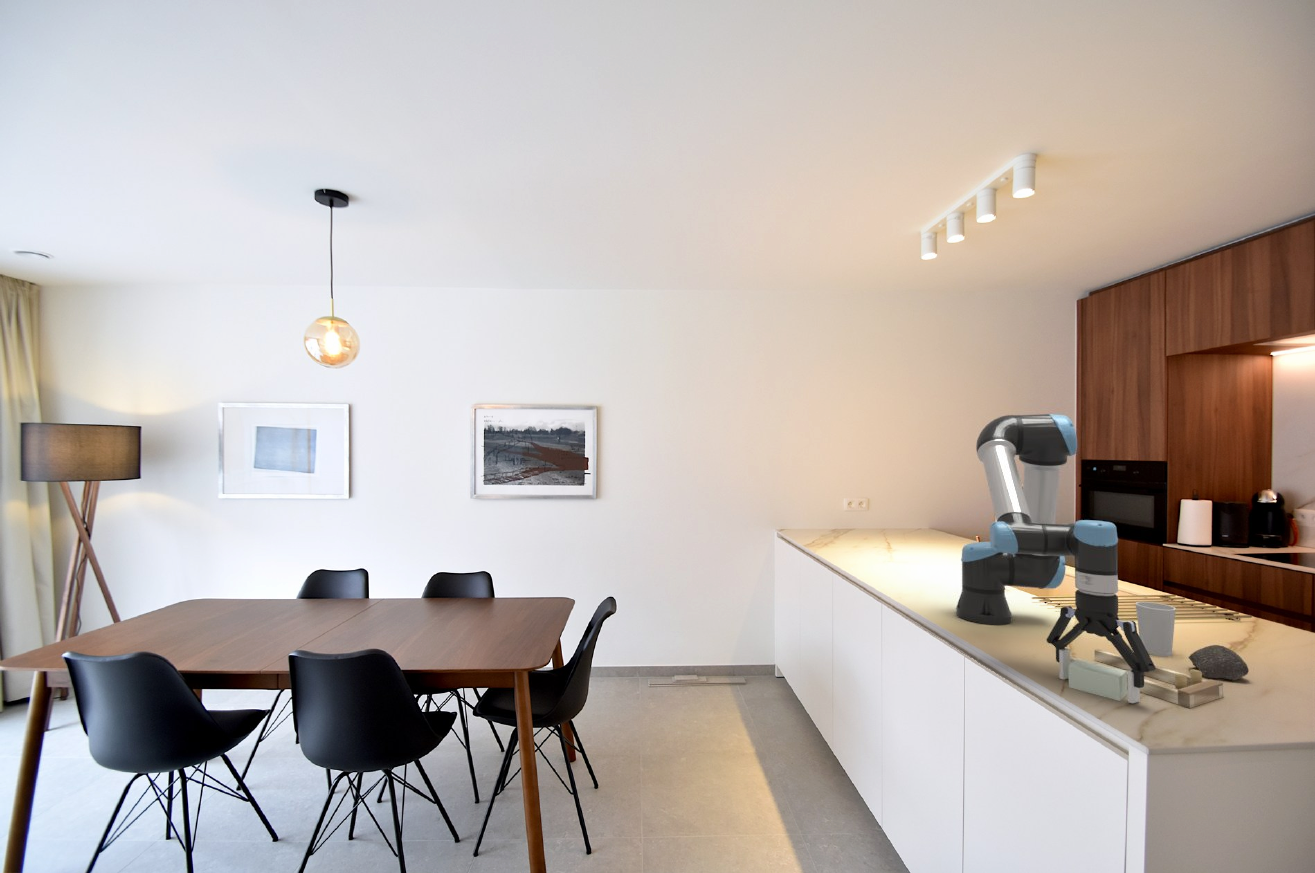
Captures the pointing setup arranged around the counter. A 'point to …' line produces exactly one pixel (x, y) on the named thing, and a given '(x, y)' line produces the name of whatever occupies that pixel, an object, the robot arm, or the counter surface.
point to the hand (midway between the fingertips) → (1097, 689)
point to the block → (1098, 679)
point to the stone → (1219, 663)
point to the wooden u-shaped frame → (1186, 689)
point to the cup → (1156, 627)
